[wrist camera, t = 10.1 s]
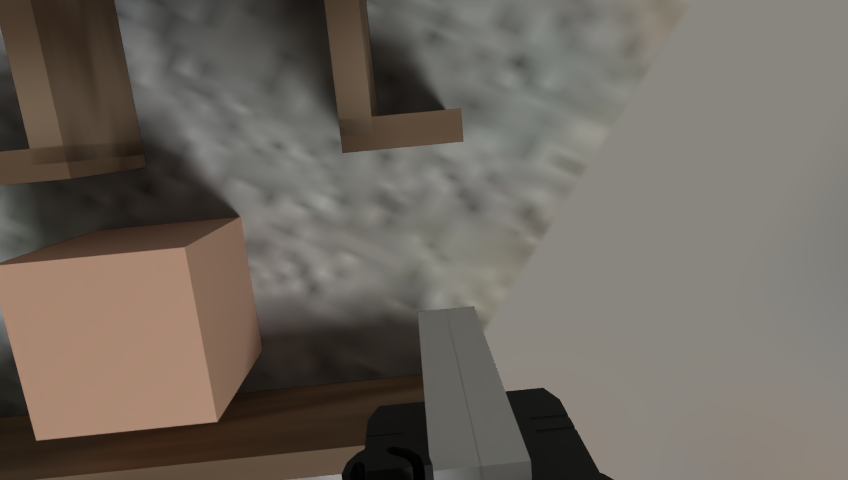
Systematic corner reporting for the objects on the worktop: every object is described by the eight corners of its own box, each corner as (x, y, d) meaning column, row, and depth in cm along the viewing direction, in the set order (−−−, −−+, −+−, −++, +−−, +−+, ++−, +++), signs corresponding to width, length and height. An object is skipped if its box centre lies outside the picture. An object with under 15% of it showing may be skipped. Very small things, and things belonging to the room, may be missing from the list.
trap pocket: (66, -95, 23) (-46, -170, 18) (353, -120, 24) (336, -202, 18) (118, 156, 26) (33, 165, 20) (380, 132, 26) (373, 133, 20)
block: (97, 230, 26) (-10, 266, 20) (241, 216, 27) (184, 247, 20) (126, 363, 28) (36, 440, 21) (262, 349, 28) (217, 421, 21)
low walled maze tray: (-121, 166, 25) (-280, 177, 19) (447, 112, 26) (461, 108, 20) (-39, 443, 28) (-155, 525, 22) (470, 390, 29) (487, 458, 23)
